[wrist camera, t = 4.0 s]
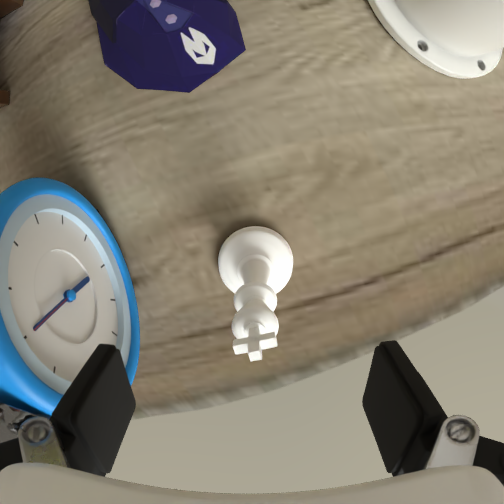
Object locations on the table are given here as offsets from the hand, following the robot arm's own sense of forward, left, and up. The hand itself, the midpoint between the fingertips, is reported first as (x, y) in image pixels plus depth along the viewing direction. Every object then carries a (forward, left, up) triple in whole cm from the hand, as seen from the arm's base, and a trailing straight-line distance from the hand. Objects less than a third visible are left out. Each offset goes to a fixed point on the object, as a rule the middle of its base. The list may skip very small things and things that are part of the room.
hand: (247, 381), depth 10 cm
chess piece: (0, 0, -11) cm, 11 cm away
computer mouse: (+7, -18, -11) cm, 23 cm away
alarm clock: (+12, 0, -11) cm, 16 cm away
